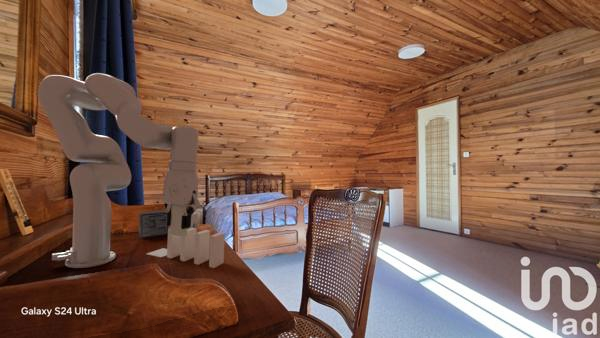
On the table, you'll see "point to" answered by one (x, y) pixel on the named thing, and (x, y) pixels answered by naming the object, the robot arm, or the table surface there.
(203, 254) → the tile
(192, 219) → the ink box
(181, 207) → the tile
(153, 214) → the small box
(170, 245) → the tile
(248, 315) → the table surface
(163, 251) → the end pad
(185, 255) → the tile
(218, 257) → the tile
